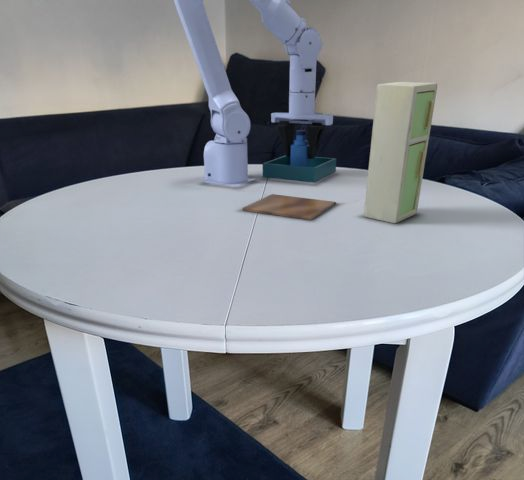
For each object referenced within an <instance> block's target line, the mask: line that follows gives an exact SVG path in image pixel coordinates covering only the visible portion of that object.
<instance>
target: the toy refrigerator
mask: <svg viewBox="0 0 524 480" xmlns="http://www.w3.org/2000/svg"><path fill="white" fill-rule="evenodd" d="M437 91H438V83H437V82H419V81H417V82H416V81H395V82H386V83H378V84H377V86H376V91H375V101H374V109H373V110H374V111H373V122H372V130H371V139H370V140H371V141H370V152H369V160H368V168H367V169H368V171H367V180H366V189H365V198H364V208H363V216H364V217H365V218H368V219H374V220H377V221H382V222H387V223H390V224H391V223H392V224H398V223H399V222H402V221H404V220H406V219H408V218H411V217H413V216H414V215H416V214H417V213H418V208H419V203H420V195H421V189H422V183H423V179H424V178H423V177H424V170H425V164H426V159H427V152H428V147H429V140H430V134H431V128H432V122H433V117H434V111H435V105H436V104H435V103H436V96H437Z"/></svg>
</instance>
